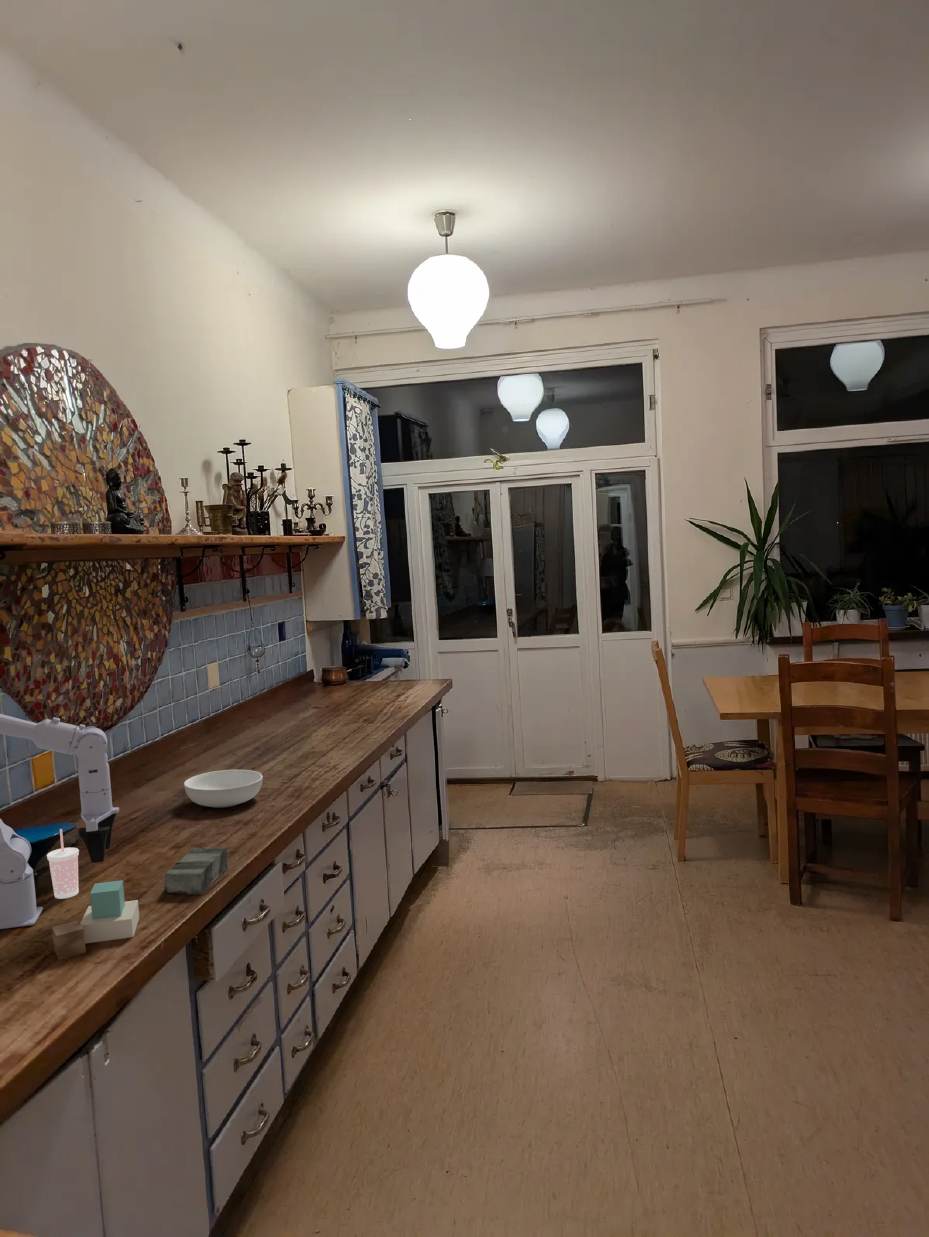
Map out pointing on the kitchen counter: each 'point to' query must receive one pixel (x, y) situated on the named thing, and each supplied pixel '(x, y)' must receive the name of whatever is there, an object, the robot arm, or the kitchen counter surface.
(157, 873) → the kitchen counter surface
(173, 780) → the kitchen counter surface
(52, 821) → the kitchen counter surface
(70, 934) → the walnut cube
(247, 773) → the serving bowl
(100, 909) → the teal cube
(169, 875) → the stone block
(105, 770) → the robot arm
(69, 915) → the kitchen counter surface
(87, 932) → the ceramic base
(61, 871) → the beverage cup
